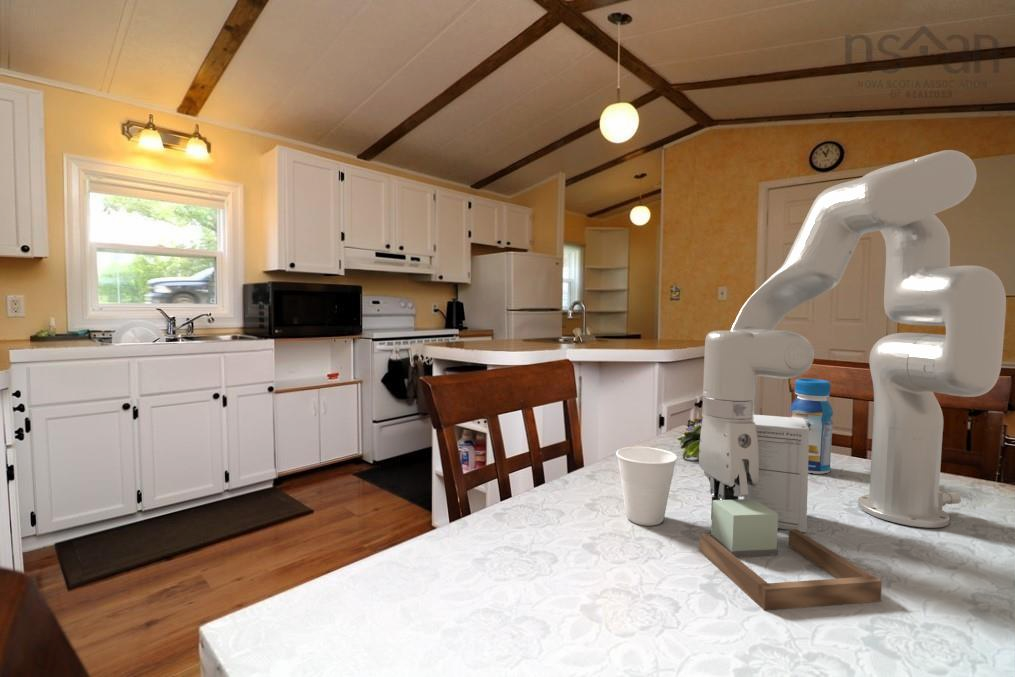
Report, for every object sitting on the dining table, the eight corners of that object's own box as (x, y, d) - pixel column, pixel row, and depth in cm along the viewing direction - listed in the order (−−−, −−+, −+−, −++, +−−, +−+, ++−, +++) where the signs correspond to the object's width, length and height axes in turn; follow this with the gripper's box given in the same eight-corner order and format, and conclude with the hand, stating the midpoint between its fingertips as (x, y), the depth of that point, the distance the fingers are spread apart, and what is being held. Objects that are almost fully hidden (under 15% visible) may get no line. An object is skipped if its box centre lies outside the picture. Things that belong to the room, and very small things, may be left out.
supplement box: (801, 513, 89) (806, 417, 88) (807, 534, 81) (812, 428, 80) (741, 503, 93) (745, 412, 92) (741, 522, 85) (745, 422, 84)
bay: (795, 545, 77) (796, 529, 77) (880, 601, 62) (881, 581, 62) (699, 551, 75) (700, 534, 74) (764, 610, 60) (765, 589, 60)
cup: (679, 534, 80) (681, 465, 79) (614, 528, 82) (616, 460, 81) (671, 510, 90) (673, 448, 89) (614, 505, 92) (615, 444, 91)
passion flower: (692, 474, 127) (705, 431, 131) (731, 479, 117) (743, 432, 122) (663, 453, 122) (677, 409, 127) (701, 456, 113) (715, 408, 118)
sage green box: (752, 536, 80) (754, 498, 79) (778, 555, 74) (780, 514, 73) (709, 538, 79) (710, 499, 79) (731, 557, 73) (733, 516, 72)
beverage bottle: (839, 475, 110) (844, 383, 109) (800, 474, 110) (804, 382, 109) (816, 463, 119) (820, 378, 118) (779, 463, 119) (783, 377, 118)
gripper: (780, 418, 74) (774, 542, 75) (724, 400, 89) (719, 504, 90) (732, 419, 73) (726, 544, 74) (683, 400, 88) (679, 505, 89)
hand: (722, 522), depth 82 cm, fingers closed
